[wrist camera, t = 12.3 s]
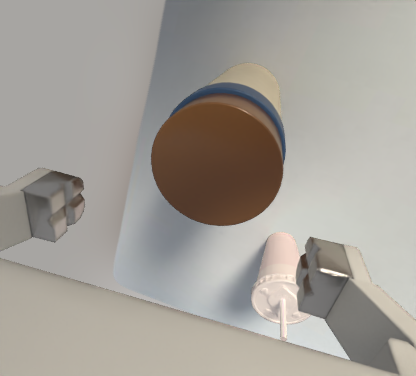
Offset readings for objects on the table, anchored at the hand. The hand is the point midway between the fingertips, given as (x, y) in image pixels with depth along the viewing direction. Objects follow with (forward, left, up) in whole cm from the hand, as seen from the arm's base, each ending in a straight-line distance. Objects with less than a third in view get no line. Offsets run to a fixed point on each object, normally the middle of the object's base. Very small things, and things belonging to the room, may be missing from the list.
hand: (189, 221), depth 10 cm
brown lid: (0, 0, -7) cm, 7 cm away
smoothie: (+18, -6, -23) cm, 30 cm away
